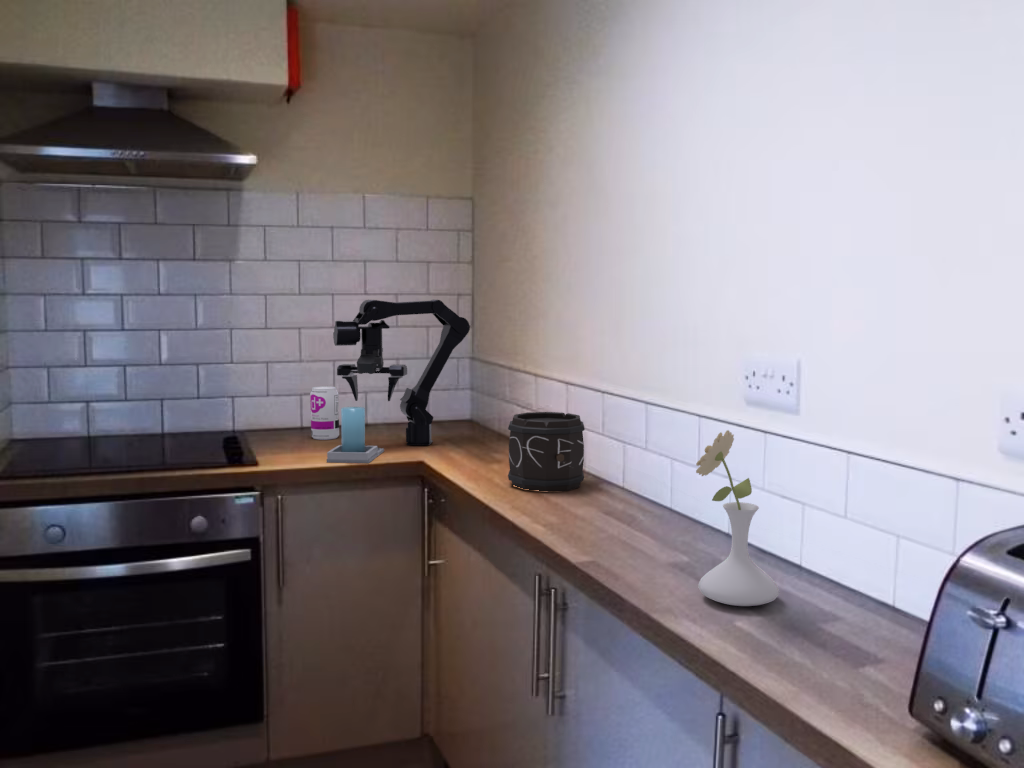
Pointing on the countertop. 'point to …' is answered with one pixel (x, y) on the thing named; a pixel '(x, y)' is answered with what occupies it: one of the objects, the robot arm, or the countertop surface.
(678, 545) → the countertop surface
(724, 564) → the flower in vase
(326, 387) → the supplement can
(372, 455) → the kitchen sink with drainboard
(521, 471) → the wooden barrel
